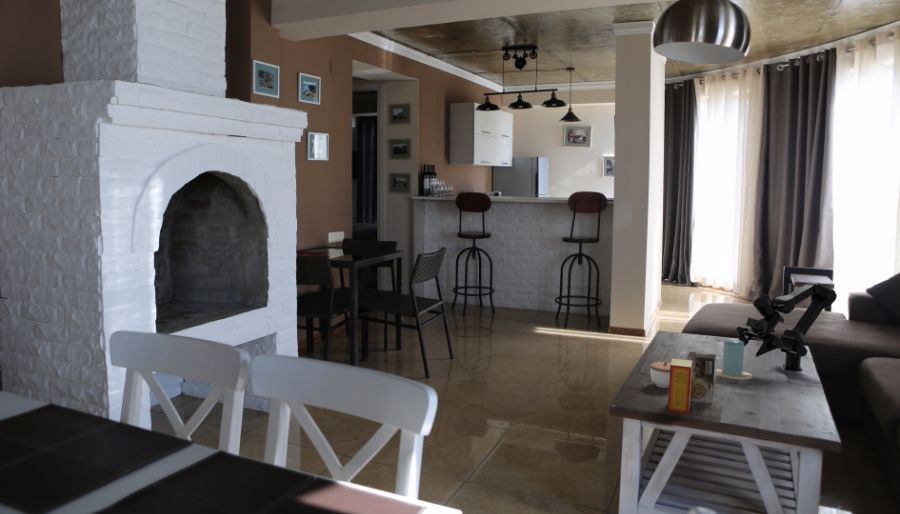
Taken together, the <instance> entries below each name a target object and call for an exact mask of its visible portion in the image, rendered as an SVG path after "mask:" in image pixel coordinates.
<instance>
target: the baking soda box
mask: <svg viewBox="0 0 900 514" xmlns="http://www.w3.org/2000/svg"><path fill="white" fill-rule="evenodd" d="M670 363H671V364H670V378H669V388H668V402H667V412H672V411H673V412H674V413H679V412H681V413H680V414H689V412H690V408H691V407H690V406H691V401H690V394H691V377H692V360H688V359H681V358H673V357H672V359H671V362H670Z"/></svg>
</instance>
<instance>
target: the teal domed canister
mask: <svg viewBox="0 0 900 514" xmlns="http://www.w3.org/2000/svg"><path fill="white" fill-rule="evenodd" d="M744 354H745V347H744V342H743V341H740V340H739V339H734V338H733V339H730V338H729V339H728V338H727V339H724V340H723V348H722V362H721V363H722V364H721V369H722V373H723V374H724V375H727V376H736V377H738V376H742V373H743V371H744V370H743V369H744V356H745V355H744Z"/></svg>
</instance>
